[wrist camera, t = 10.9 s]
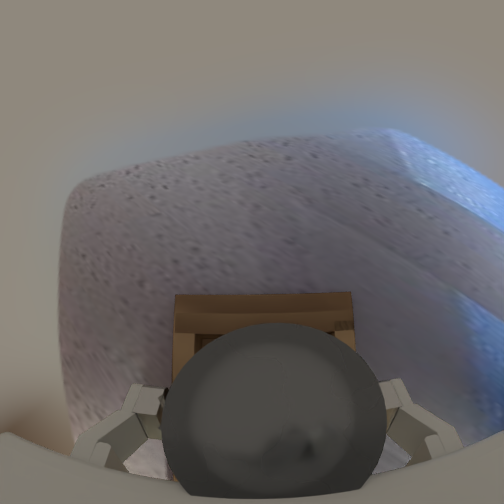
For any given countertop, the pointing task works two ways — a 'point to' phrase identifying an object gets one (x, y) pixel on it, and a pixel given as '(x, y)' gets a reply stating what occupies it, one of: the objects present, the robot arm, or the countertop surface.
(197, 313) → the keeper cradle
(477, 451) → the robot arm
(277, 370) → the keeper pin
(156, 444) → the countertop surface
